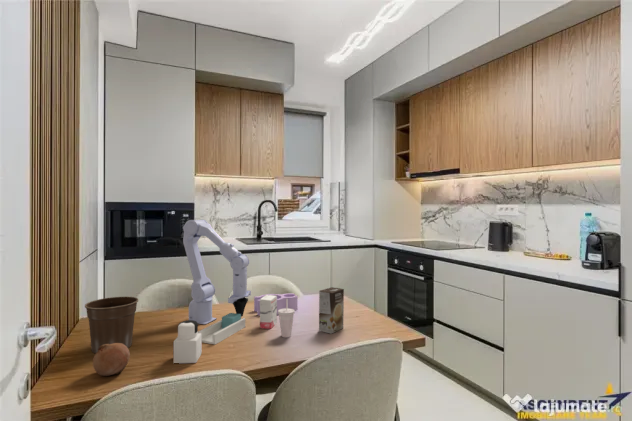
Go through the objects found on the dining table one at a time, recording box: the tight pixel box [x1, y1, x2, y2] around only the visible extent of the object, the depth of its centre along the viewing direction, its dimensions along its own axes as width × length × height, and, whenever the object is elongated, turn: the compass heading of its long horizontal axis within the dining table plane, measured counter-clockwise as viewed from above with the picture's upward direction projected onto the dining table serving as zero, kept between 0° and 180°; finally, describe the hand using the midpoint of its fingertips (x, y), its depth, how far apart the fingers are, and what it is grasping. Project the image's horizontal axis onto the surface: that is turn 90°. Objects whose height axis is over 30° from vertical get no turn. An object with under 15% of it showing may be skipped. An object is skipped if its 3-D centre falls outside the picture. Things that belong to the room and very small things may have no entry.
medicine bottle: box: [172, 319, 203, 364], centre depth 113 cm, size 7×7×12 cm
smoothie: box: [278, 299, 296, 338], centre depth 134 cm, size 6×6×14 cm
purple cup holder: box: [253, 292, 299, 316], centre depth 167 cm, size 20×12×7 cm, turn 112°
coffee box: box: [318, 287, 345, 335], centre depth 141 cm, size 9×6×16 cm
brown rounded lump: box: [92, 343, 131, 377], centre depth 103 cm, size 10×9×10 cm
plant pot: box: [84, 296, 139, 354], centre depth 122 cm, size 16×16×16 cm
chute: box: [198, 317, 246, 345], centre depth 136 cm, size 20×8×4 cm, turn 160°
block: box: [221, 312, 242, 328], centre depth 141 cm, size 6×5×4 cm
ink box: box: [259, 294, 278, 330], centre depth 145 cm, size 9×5×12 cm, turn 168°
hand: (239, 316), depth 147 cm, fingers closed
